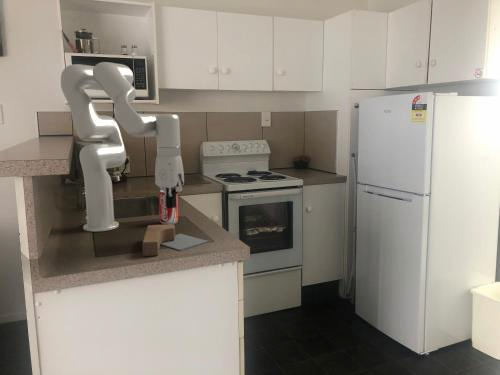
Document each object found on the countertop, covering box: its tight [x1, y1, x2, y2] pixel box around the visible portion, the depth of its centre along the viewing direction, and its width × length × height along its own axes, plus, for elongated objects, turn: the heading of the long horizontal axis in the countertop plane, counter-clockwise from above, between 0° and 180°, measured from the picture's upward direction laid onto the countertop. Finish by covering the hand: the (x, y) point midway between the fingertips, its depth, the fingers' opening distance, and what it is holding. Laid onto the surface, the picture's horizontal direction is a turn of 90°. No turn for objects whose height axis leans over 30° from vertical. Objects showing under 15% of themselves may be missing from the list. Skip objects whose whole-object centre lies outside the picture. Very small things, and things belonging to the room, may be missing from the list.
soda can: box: [158, 189, 179, 225], centre depth 162 cm, size 7×7×13 cm
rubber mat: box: [160, 233, 209, 252], centre depth 137 cm, size 14×12×1 cm
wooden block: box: [141, 224, 176, 257], centre depth 132 cm, size 9×4×18 cm
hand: (171, 207), depth 138 cm, fingers closed
